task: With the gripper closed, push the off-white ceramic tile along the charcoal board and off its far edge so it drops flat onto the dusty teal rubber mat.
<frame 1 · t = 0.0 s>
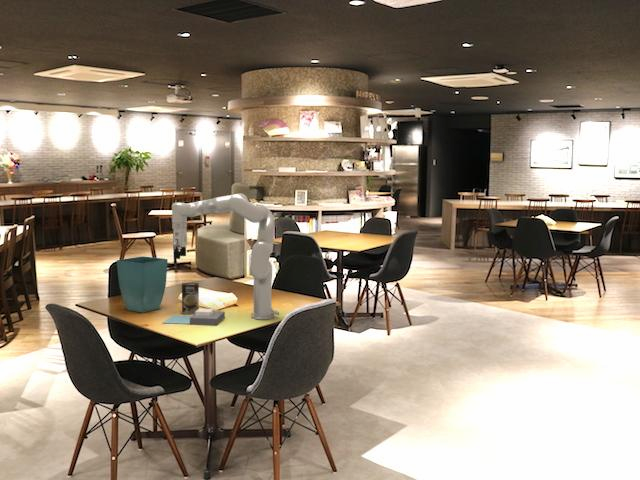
hand: (180, 257, 340), 31 cm above the table, tool pointing down, fingers open, 9 cm apart
mat: (180, 319, 331), on the table
coffee box: (190, 312, 347), on the table
flower pot: (143, 309, 353), on the table
board: (207, 321, 330), on the table
tile: (204, 314, 329), point 3 cm above the table, touching board
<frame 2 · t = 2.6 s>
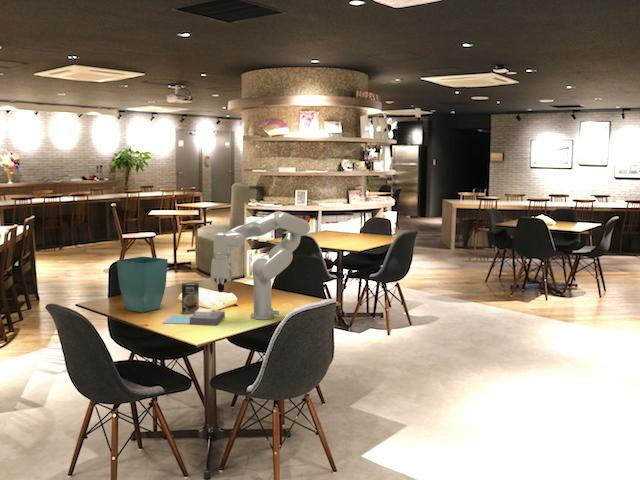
hand: (220, 291, 327), 16 cm above the table, tool pointing down, fingers closed
nothing on the table moved.
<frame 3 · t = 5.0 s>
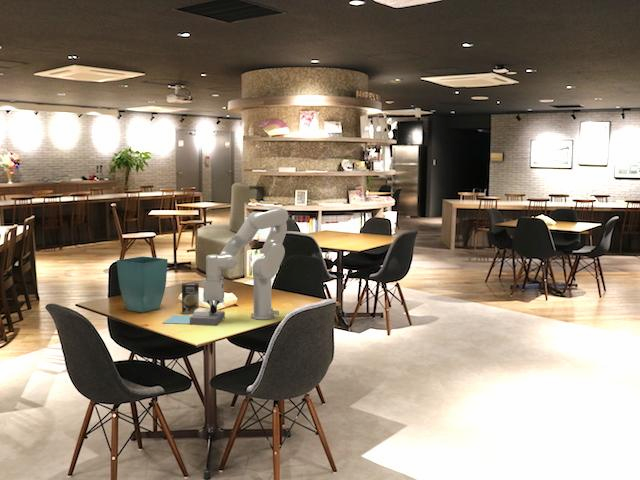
hand: (213, 313, 329), 4 cm above the table, tool pointing down, fingers closed
tile: (203, 314, 329), point 4 cm above the table, touching gripper
everything else where it was.
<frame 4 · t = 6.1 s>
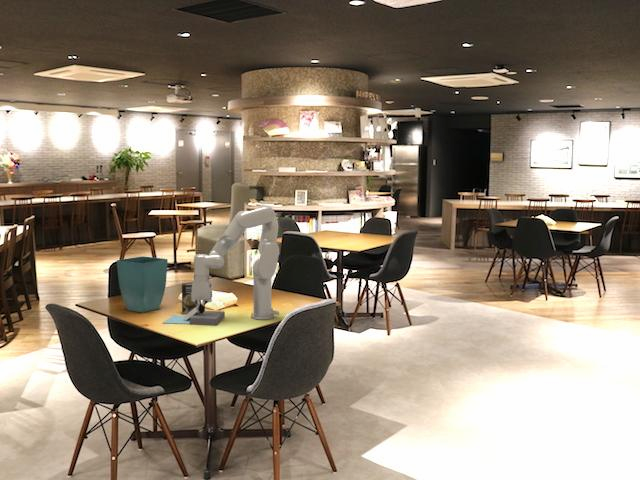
hand: (201, 312, 329), 4 cm above the table, tool pointing down, fingers closed
tile: (193, 314, 331), point 3 cm above the table, tilted 40°, touching gripper
everything else where it was.
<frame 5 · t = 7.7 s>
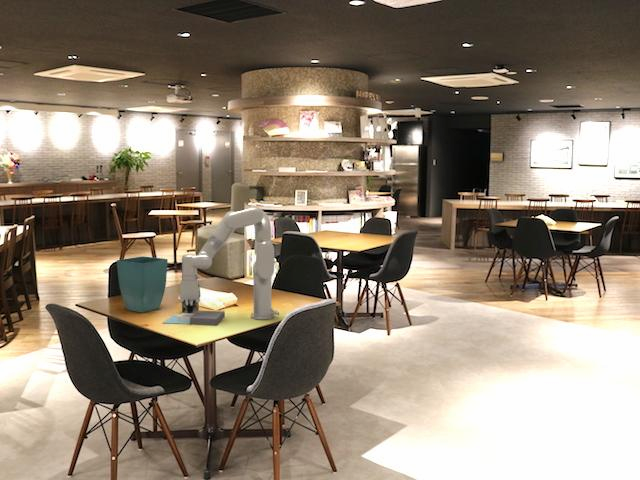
hand: (190, 312, 330), 4 cm above the table, tool pointing down, fingers closed
tile: (187, 319, 331), resting on mat
everything else where it was.
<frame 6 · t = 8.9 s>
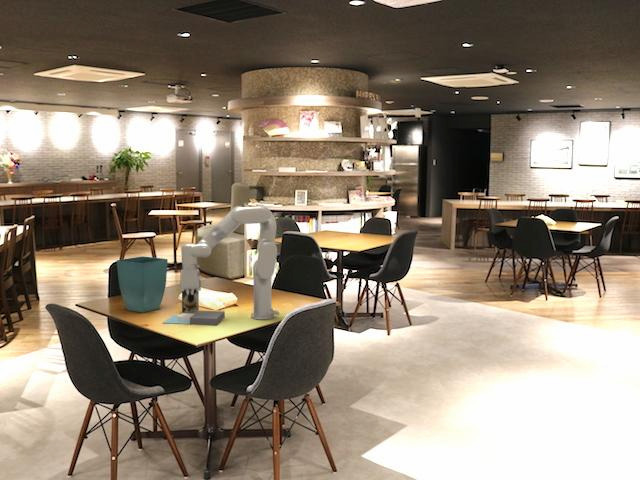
hand: (191, 301, 329), 10 cm above the table, tool pointing down, fingers closed
nothing on the table moved.
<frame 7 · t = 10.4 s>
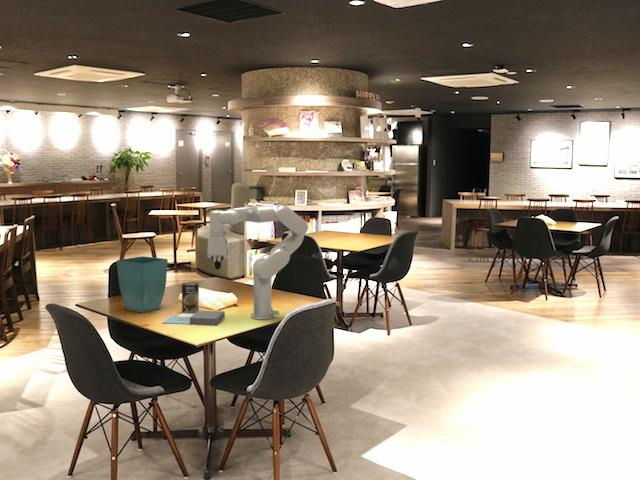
hand: (217, 268, 330), 27 cm above the table, tool pointing down, fingers closed
nothing on the table moved.
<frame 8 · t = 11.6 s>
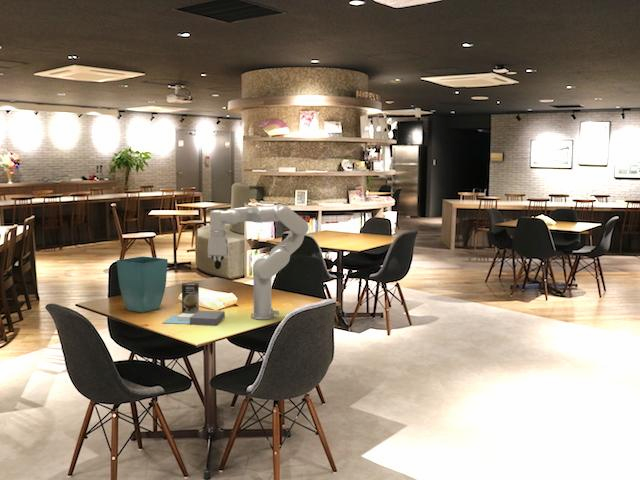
hand: (218, 268, 330), 27 cm above the table, tool pointing down, fingers closed
nothing on the table moved.
at the end: tile resting on mat; tile inside the target area (3.3 cm from its centre), resting on mat; tile tilted 0° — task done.
